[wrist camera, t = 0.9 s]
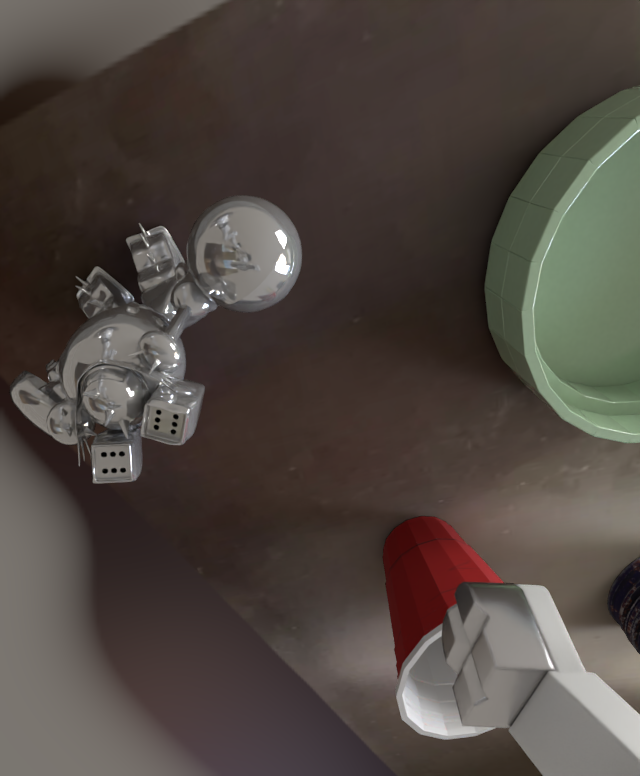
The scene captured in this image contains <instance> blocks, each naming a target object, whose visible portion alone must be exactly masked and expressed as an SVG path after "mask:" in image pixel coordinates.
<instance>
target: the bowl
mask: <svg viewBox="0 0 640 776" xmlns="http://www.w3.org/2000/svg"><path fill="white" fill-rule="evenodd" d="M491 242H492V243H491V246H490V253H489V259H488V266H487V272H486V279H485V288H484V289H485V298H486V308H487V317H488V327H489V330H490V332H491V334H492V337H493V339H494V342H495V344H496V346H497V349H498V351H499V353H500V356H501V358H502V360H503V361H504V362H505V364H506V365H507V366H508V367H509V368H510V369H511V370H512V372H513V373H514V374H515V375H516V376H517V377H518V378H519V380H520V381H521V382H522V383H523V384H524V385H525V386H526V387H527V388H528V389H529V390H530V391H532V392H533V393H534V394H535V395H536V396H537V397H538V398H539V399H540V400H542V401H543V402H544V403H545V404H546V405H547V406H548V407H549V408H550V409H551V410H553V411H554V412H555V413H556V414H557V415H558V416H559V417H560V418H562V419H563V420H564V421H566V422H568V423H570V424H572V425H573V426H575V427H577V428H579V429H580V430H582V431H584V432H586V433H587V434H589V435H591V436H594V437H599V438H604V439H609V440H614V441H619V442H623V443H640V85H639V86H636V87H632V88H628V89H625V90H622V91H620V92H618V93H617V94H615V95H613V96H612V97H610V98H608V99H606V100H605V101H603V102H601V103H600V104H598V105H596V106H594V107H593V108H591V109H589V110H588V111H586V112H584V113H582V114H581V115H579V116H578V117H577V118H575V119H574V120H573V121H572V122H571V123H570V124H569V125H568V126H567V127H566V128H565V129H564V130H563V131H562V132H561V133H560V134H559V135H557V136H556V137H555V138H554V139H553V140H552V141H551V142H550V143H549V144H548V145H547V146H546V147H545V148H544V149H543V150H542V151H541V152H540V153H539V154H538V155H537V157H536V158H535V160H534V161H533V163H532V164H531V166H530V167H529V168H528V170H527V171H526V173H525V174H524V176H523V177H522V179H521V180H520V182H519V183H518V185H517V186H516V188H515V189H514V190H513V192H512V193H511V195H510V197H509V198H508V201H507V203H506V206H505V208H504V211H503V213H502V216H501V218H500V221H499V223H498V226H497V228H496V231H495V233H494V236H493V238H492V241H491Z"/></svg>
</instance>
